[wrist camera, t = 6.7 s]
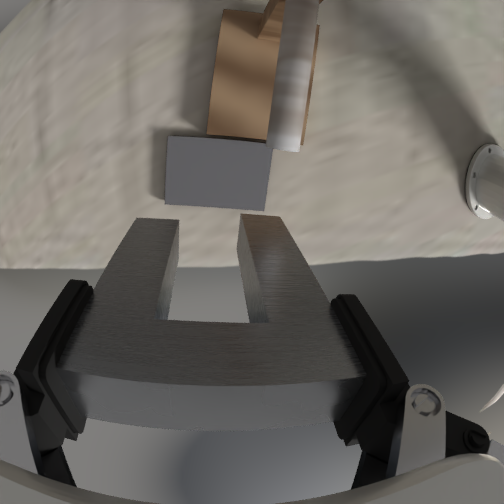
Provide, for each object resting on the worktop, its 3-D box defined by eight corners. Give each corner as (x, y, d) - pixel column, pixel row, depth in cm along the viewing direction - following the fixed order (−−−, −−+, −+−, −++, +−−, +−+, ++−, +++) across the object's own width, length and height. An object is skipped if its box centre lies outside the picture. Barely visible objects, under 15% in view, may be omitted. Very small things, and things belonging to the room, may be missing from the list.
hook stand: (223, 12, 22) (228, -65, 8) (316, 27, 24) (391, -24, 10) (207, 133, 28) (193, 153, 14) (300, 143, 30) (369, 175, 16)
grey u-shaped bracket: (279, 216, 16) (369, 375, 6) (273, 251, 17) (340, 420, 7) (143, 208, 15) (55, 367, 5) (143, 244, 16) (81, 416, 6)
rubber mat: (272, 144, 30) (273, 144, 29) (263, 209, 33) (263, 211, 32) (169, 135, 28) (168, 136, 28) (165, 202, 31) (164, 204, 31)
